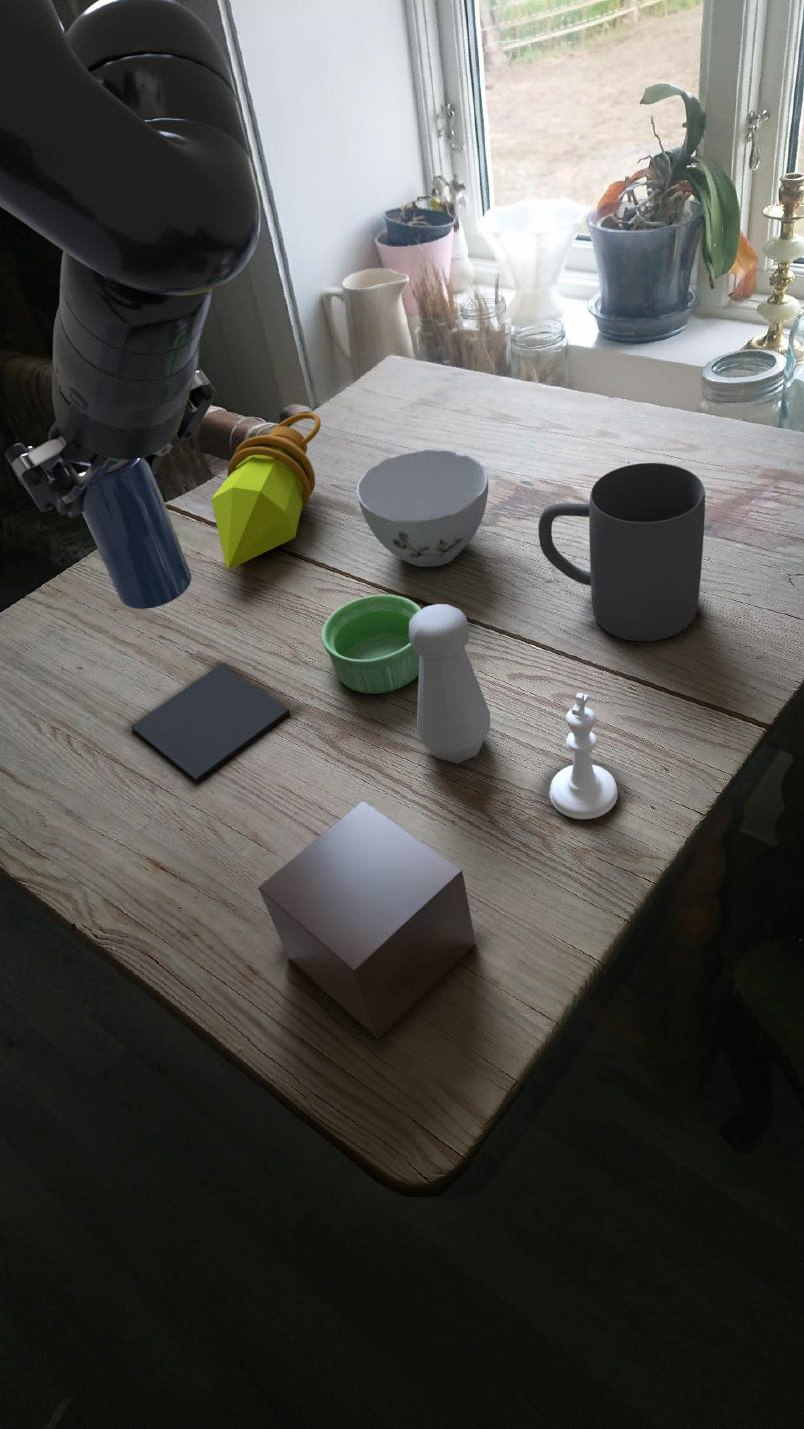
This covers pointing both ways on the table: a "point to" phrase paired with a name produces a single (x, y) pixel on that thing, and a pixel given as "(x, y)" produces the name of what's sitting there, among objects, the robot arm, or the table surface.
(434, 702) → the salt shaker
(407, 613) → the ramekin
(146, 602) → the blue cylinder
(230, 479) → the plumb bob
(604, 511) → the mug
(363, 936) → the cube
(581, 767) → the chess piece
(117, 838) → the table surface
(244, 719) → the coaster
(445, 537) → the teacup
